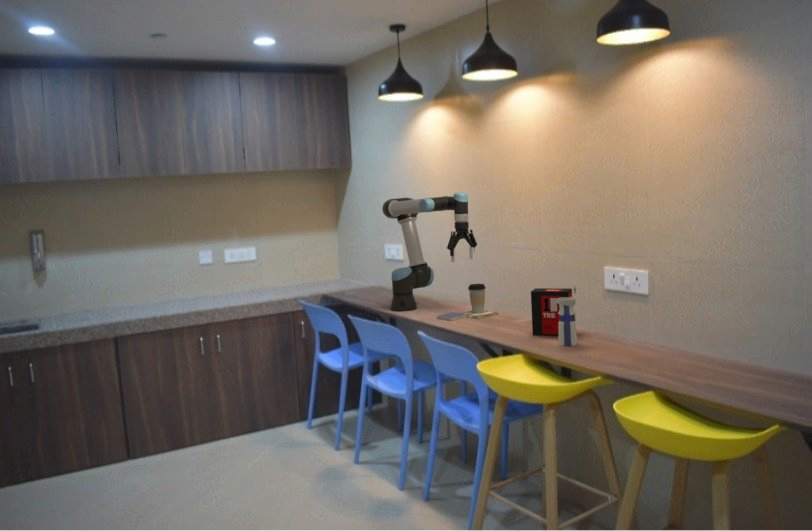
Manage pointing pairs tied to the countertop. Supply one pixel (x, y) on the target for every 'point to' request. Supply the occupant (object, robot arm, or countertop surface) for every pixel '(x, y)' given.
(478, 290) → the coffee cup
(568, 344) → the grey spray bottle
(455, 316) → the ink pad
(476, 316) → the board
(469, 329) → the countertop surface
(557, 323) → the cleaning product box
